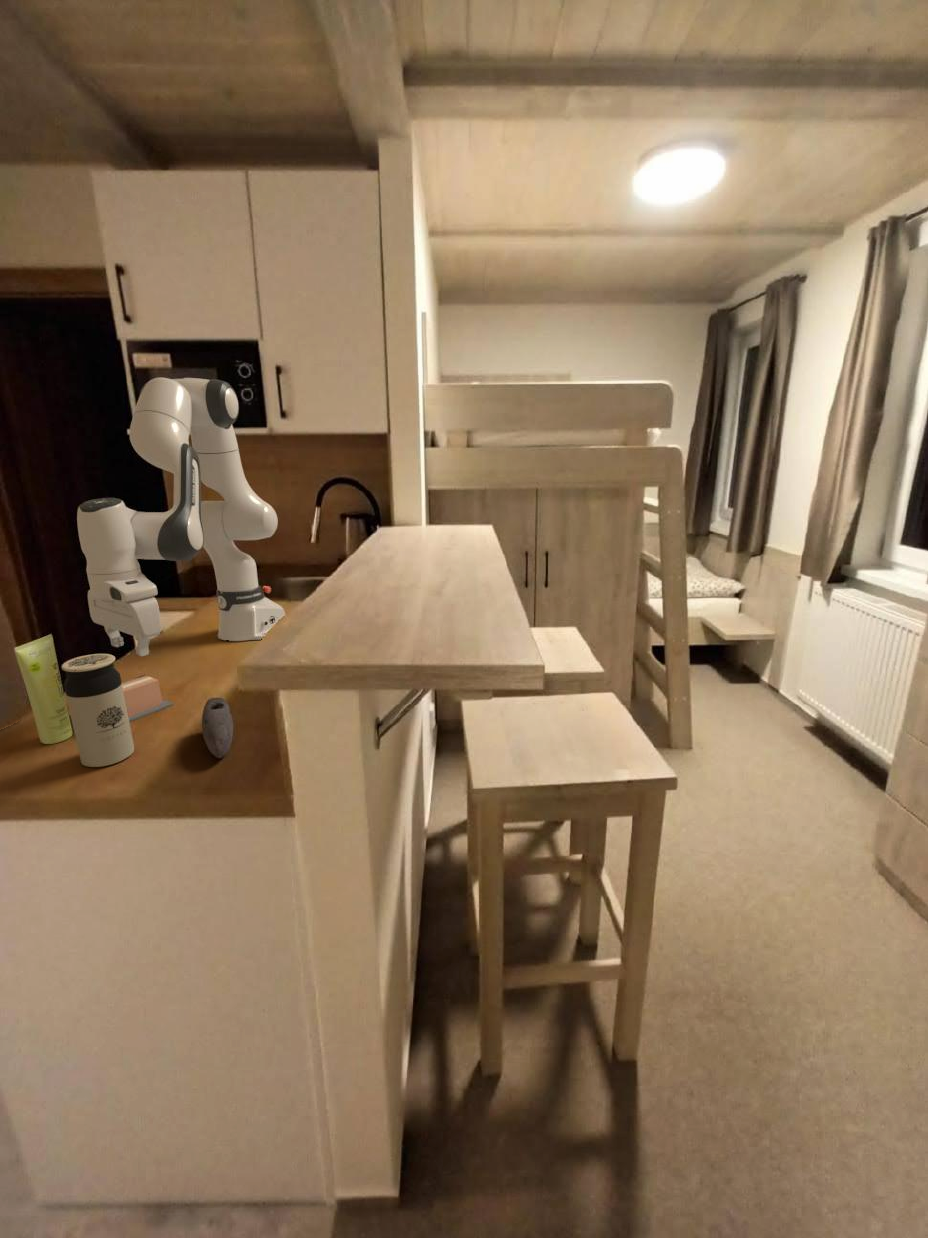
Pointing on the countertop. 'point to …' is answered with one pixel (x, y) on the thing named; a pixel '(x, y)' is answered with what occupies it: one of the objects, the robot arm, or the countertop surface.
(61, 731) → the tube
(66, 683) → the travel mug
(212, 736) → the perforated stone tool
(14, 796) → the countertop surface
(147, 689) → the terracotta block
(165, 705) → the slate pad
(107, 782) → the countertop surface
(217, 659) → the countertop surface
